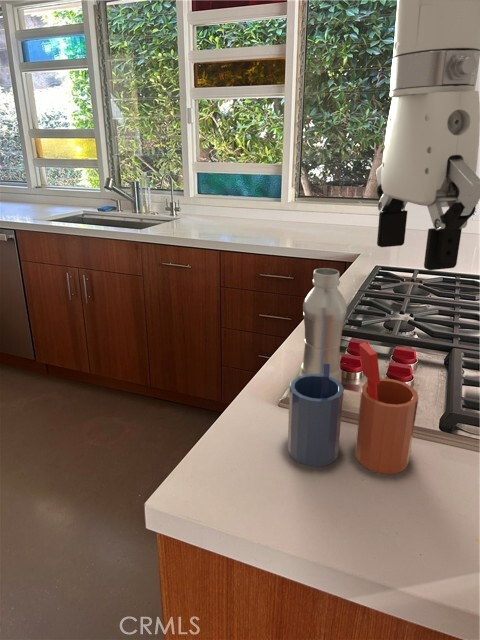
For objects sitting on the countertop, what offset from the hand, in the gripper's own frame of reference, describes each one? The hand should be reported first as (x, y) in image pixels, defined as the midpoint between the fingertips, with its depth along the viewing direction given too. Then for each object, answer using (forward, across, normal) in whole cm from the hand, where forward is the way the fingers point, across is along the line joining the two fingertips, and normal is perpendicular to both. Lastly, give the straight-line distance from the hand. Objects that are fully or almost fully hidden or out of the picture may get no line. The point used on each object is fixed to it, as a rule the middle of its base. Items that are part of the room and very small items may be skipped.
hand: (412, 256), depth 50 cm
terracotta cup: (+26, -1, +2) cm, 26 cm away
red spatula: (+25, -1, +2) cm, 26 cm away
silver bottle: (+26, +16, +4) cm, 31 cm away
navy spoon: (+25, +2, +9) cm, 27 cm away
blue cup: (+26, +2, +10) cm, 28 cm away
